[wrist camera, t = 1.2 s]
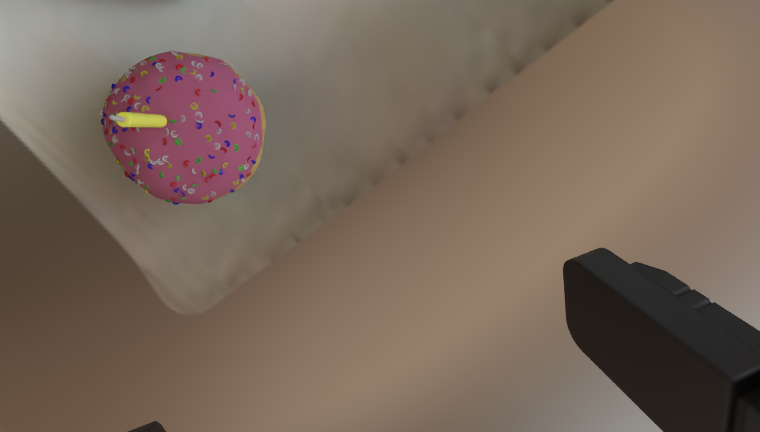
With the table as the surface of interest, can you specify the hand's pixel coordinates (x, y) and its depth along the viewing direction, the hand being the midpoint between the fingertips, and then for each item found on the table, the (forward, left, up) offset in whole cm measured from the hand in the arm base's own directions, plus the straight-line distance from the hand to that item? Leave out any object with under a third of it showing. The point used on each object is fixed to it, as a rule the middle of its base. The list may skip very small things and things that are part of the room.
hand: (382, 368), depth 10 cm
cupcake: (-2, -7, -27) cm, 28 cm away
